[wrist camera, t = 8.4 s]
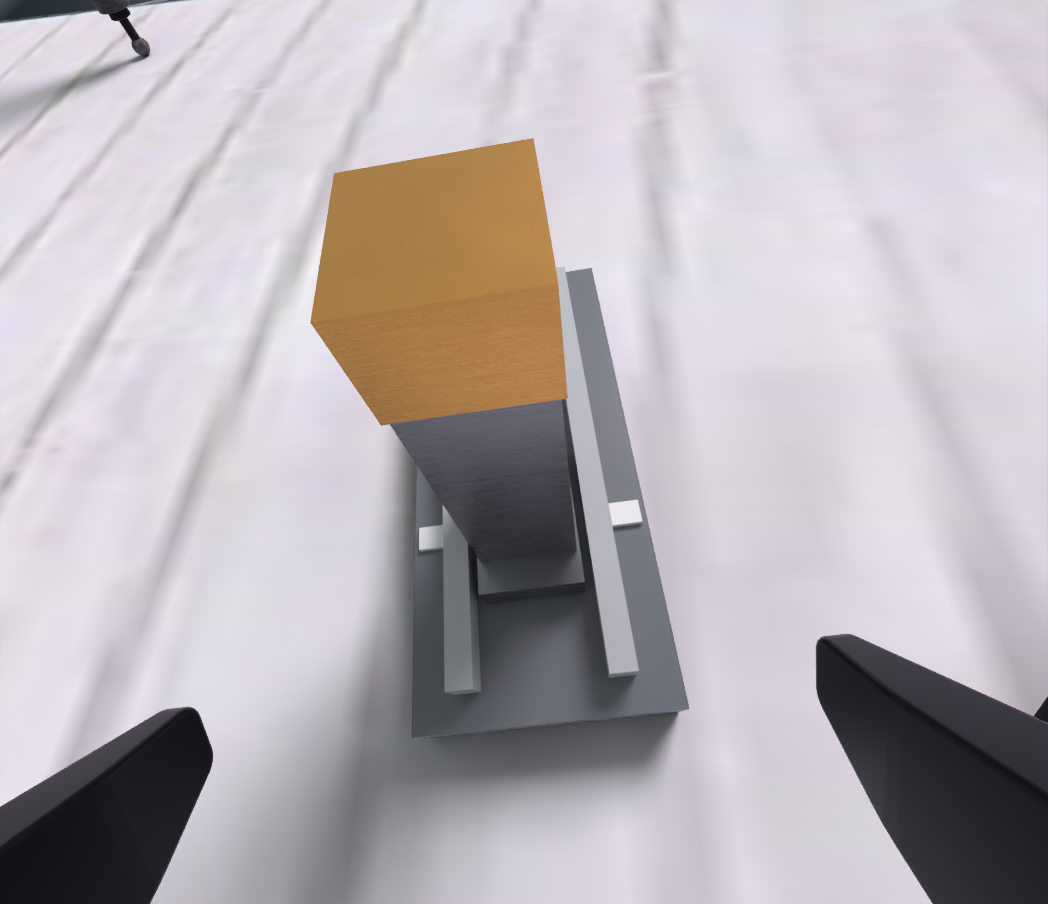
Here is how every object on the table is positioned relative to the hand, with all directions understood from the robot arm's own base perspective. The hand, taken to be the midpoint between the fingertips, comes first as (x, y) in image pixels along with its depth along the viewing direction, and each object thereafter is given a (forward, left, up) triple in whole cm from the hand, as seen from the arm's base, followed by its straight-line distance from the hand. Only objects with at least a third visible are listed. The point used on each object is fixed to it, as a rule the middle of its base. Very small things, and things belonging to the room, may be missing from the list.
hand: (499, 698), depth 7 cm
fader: (+3, +5, -8) cm, 10 cm away
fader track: (+5, +7, -11) cm, 14 cm away
